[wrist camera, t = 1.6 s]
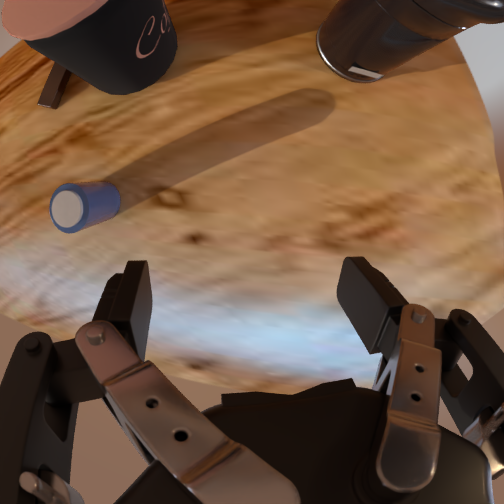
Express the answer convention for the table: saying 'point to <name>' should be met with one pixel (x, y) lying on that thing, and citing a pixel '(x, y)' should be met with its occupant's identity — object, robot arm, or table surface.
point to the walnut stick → (54, 86)
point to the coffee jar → (98, 38)
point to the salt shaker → (83, 205)
